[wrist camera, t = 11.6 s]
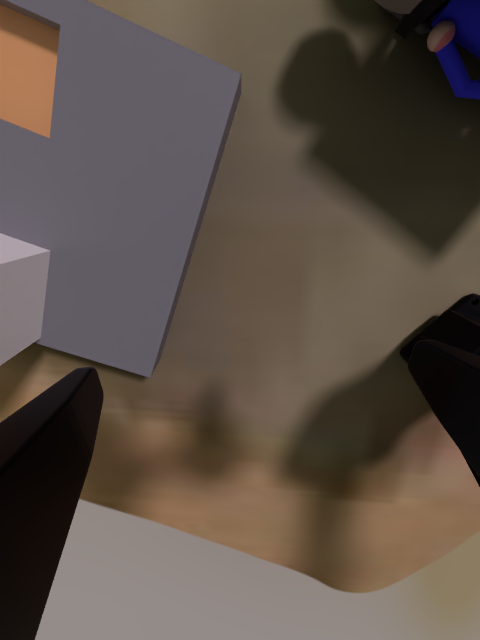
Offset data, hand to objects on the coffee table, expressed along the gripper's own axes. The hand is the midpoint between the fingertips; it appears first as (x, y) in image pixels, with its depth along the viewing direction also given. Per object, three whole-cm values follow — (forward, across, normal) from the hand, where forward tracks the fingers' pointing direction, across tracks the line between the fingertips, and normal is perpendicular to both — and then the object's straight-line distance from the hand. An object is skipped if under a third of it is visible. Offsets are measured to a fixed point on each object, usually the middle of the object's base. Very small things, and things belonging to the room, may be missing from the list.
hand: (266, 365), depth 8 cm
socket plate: (+14, +8, -2) cm, 17 cm away
